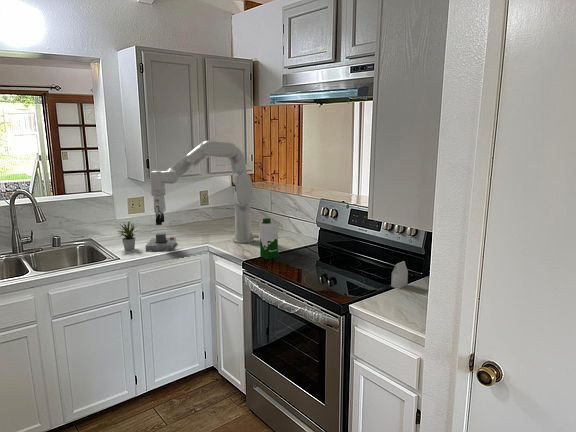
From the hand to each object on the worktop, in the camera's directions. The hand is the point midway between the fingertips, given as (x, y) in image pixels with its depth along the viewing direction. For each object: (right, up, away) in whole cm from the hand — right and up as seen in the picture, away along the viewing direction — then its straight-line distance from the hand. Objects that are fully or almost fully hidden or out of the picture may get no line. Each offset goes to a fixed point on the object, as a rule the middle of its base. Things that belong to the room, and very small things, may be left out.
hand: (160, 223), depth 245 cm
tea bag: (+120, -25, -64) cm, 138 cm away
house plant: (-18, -15, -1) cm, 23 cm away
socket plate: (0, -14, +3) cm, 14 cm away
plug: (0, -14, +2) cm, 14 cm away
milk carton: (+63, -18, -20) cm, 69 cm away
